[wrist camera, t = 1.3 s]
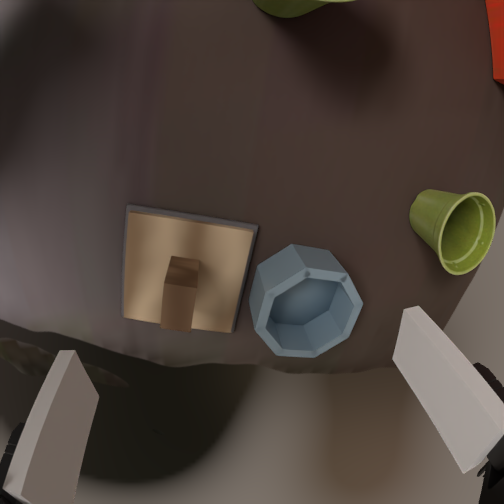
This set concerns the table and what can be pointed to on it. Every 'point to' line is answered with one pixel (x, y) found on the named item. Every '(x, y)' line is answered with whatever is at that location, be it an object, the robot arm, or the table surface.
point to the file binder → (497, 36)
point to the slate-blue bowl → (303, 302)
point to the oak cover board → (191, 244)
